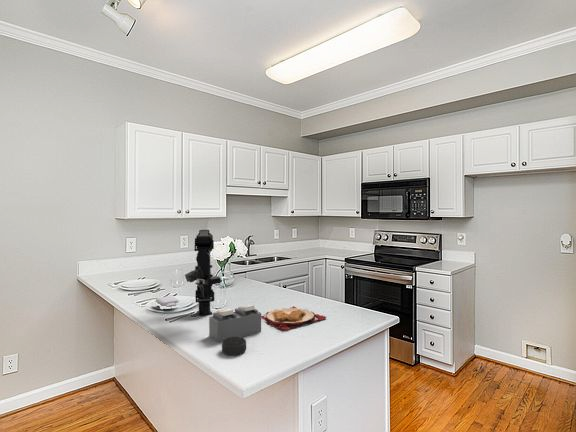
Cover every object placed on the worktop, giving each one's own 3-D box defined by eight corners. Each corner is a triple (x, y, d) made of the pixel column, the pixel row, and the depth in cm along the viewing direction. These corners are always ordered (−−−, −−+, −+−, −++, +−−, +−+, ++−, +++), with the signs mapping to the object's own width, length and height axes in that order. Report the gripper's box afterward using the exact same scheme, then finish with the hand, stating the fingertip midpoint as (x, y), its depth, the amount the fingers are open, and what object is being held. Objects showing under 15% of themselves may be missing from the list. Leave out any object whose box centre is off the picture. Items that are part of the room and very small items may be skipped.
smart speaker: (237, 344, 135) (237, 334, 135) (251, 352, 128) (251, 341, 128) (217, 350, 129) (217, 340, 129) (230, 358, 122) (230, 347, 122)
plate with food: (327, 321, 165) (327, 313, 165) (283, 332, 148) (283, 323, 148) (293, 309, 184) (293, 302, 184) (251, 318, 167) (251, 310, 167)
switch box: (209, 336, 143) (209, 313, 143) (251, 326, 155) (251, 305, 155) (217, 342, 137) (217, 318, 136) (261, 331, 148) (261, 309, 148)
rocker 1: (216, 315, 144) (216, 310, 144) (226, 313, 146) (226, 309, 146) (223, 315, 138) (223, 311, 139) (233, 313, 141) (232, 309, 141)
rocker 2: (238, 311, 149) (237, 307, 150) (247, 309, 152) (246, 305, 152) (245, 311, 144) (245, 307, 145) (254, 309, 147) (254, 305, 147)
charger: (164, 314, 172) (155, 307, 184) (183, 310, 178) (173, 304, 190) (164, 304, 172) (155, 298, 184) (183, 301, 178) (173, 295, 190)
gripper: (177, 264, 158) (178, 299, 157) (197, 266, 144) (198, 304, 144) (199, 261, 165) (200, 295, 165) (221, 263, 152) (222, 299, 151)
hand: (205, 298), depth 156 cm, fingers closed
